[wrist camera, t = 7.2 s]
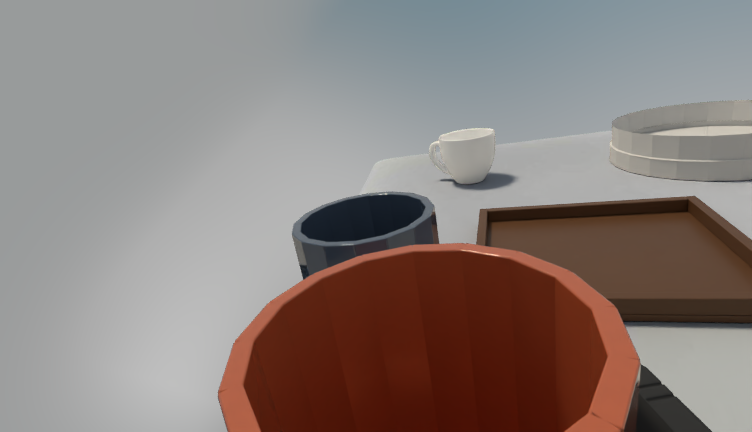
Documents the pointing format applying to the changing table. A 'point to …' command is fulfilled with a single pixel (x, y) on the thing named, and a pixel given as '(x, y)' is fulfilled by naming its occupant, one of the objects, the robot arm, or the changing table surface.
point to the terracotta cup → (435, 349)
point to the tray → (638, 254)
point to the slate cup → (362, 228)
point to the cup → (465, 154)
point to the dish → (686, 141)
